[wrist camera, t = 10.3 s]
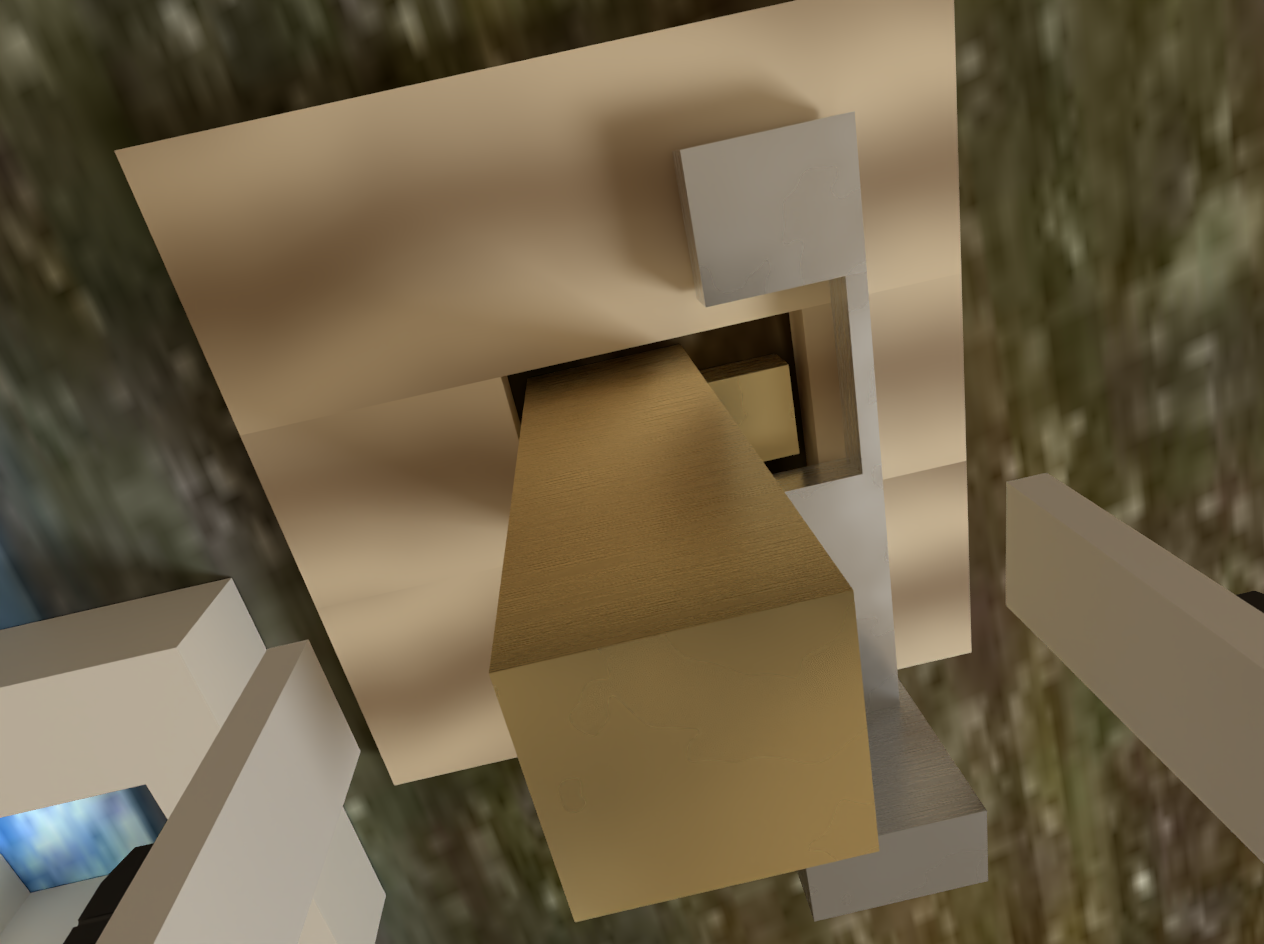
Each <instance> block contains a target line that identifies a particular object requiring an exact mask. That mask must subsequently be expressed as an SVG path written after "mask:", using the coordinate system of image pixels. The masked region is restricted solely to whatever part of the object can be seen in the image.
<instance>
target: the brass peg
mask: <svg viewBox="0 0 1264 944" xmlns="http://www.w3.org/2000/svg"><path fill="white" fill-rule="evenodd" d="M795 454H799V446H798V437H797V429H796V421H795V413H794V405H793V397H792V389H791V380H790V372H789V365H788V364H787V363H786V362H785V361H784V360H782V359H781V358H780V357H779V356H778V355H777V354H770V355H766V356H761V357H757V358H752V359H748V360H743V361H739V362H735V363H730V364H726V365H721V366H717V367H712V368H708V369H704V370H698V369H697V367H696V366H695V364H694V363H693V362H692V360H691V359H690V357H689V356H688V354H687V353H686V352H685V350H684V349H683V347H682V346H681V345H680V344H677V345H673V346H668V347H664V348H659V349H655V350H651V351H646V352H642V353H637V354H633V355H628V356H624V357H620V358H615V359H611V360H606V361H602V362H597V363H593V364H588V365H584V366H580V367H575V368H571V369H566V370H562V371H557V372H553V373H548V374H544V375H540V376H535V377H531V378H527V385H526V392H525V400H524V408H523V415H522V423H521V431H520V438H519V446H518V454H517V461H516V469H515V476H514V484H513V492H512V499H511V507H510V515H509V522H508V530H507V538H506V545H505V553H504V561H503V568H502V576H501V584H500V591H499V599H498V607H497V614H496V622H495V630H494V637H493V645H492V652H491V660H490V668H489V676H490V679H491V682H492V685H493V688H494V690H495V693H496V696H497V699H498V702H499V705H500V708H501V711H502V713H503V716H504V719H505V722H506V725H507V728H508V731H509V734H510V737H511V739H512V742H513V745H514V748H515V751H516V754H517V757H518V760H519V762H520V765H521V768H522V771H523V774H524V777H525V780H526V783H527V786H528V788H529V791H530V794H531V797H532V800H533V803H534V806H535V809H536V811H537V814H538V817H539V820H540V823H541V826H542V829H543V832H544V835H545V837H546V840H547V843H548V846H549V849H550V852H551V855H552V858H553V860H554V863H555V866H556V869H557V872H558V875H559V878H560V881H561V884H562V886H563V889H564V892H565V895H566V898H567V901H568V904H569V907H570V909H571V912H572V915H573V918H574V921H575V922H578V921H582V920H586V919H591V918H595V917H599V916H604V915H608V914H612V913H617V912H621V911H625V910H629V909H634V908H638V907H642V906H647V905H651V904H655V903H660V902H664V901H668V900H672V899H677V898H681V897H685V896H690V895H694V894H698V893H702V892H707V891H711V890H715V889H720V888H724V887H728V886H733V885H737V884H741V883H745V882H750V881H754V880H758V879H763V878H767V877H771V876H775V875H780V874H784V873H788V872H793V871H797V870H801V869H806V868H810V867H814V866H818V865H823V864H827V863H831V862H836V861H840V860H844V859H849V858H853V857H857V856H861V855H866V854H870V853H874V852H879V841H878V831H877V821H876V811H875V801H874V791H873V781H872V771H871V761H870V751H869V741H868V731H867V721H866V711H865V701H864V691H863V681H862V671H861V661H860V651H859V640H858V630H857V620H856V610H855V600H854V590H853V589H852V587H851V586H850V585H849V583H848V582H847V580H846V579H845V577H844V576H843V575H842V573H841V572H840V570H839V569H838V567H837V566H836V565H835V563H834V562H833V560H832V559H831V558H830V556H829V555H828V553H827V552H826V550H825V549H824V548H823V546H822V545H821V543H820V542H819V540H818V539H817V538H816V536H815V535H814V533H813V532H812V531H811V529H810V528H809V526H808V525H807V523H806V522H805V521H804V519H803V518H802V516H801V515H800V514H799V512H798V511H797V509H796V508H795V506H794V505H793V504H792V502H791V501H790V499H789V498H788V496H787V495H786V494H785V492H784V491H783V489H782V488H781V487H780V485H779V484H778V482H777V481H776V479H775V478H774V477H773V475H772V474H771V472H770V471H769V470H768V468H767V467H766V465H765V464H764V461H769V460H773V459H777V458H782V457H786V456H791V455H795Z"/></svg>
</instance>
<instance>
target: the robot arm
mask: <svg viewBox="0 0 1264 944" xmlns="http://www.w3.org/2000/svg"><path fill="white" fill-rule="evenodd" d="M1006 606H1007V607H1008V608H1009V609H1010V610H1011V611H1012V612H1013V613H1014V614H1015V615H1016V616H1017V617H1018V618H1019V619H1020V620H1021V621H1022V622H1023V623H1024V624H1025V625H1026V626H1027V627H1028V628H1029V629H1030V630H1031V631H1032V632H1033V633H1034V634H1035V635H1036V636H1037V637H1038V638H1039V639H1040V640H1041V641H1042V642H1043V643H1044V644H1045V645H1046V646H1047V647H1048V648H1049V649H1050V650H1051V651H1052V652H1053V653H1054V654H1055V655H1056V656H1057V657H1058V658H1059V659H1060V660H1061V661H1062V662H1063V663H1064V664H1065V665H1066V666H1067V667H1068V668H1069V669H1070V670H1071V671H1072V672H1073V673H1074V674H1075V675H1076V676H1077V677H1078V678H1079V679H1080V680H1081V681H1082V682H1083V683H1084V684H1085V685H1086V686H1087V687H1088V688H1089V689H1090V690H1091V691H1092V692H1093V693H1094V694H1095V695H1096V696H1097V697H1098V698H1099V699H1100V700H1101V701H1102V702H1103V703H1104V704H1105V705H1106V706H1107V707H1108V708H1109V709H1110V710H1111V711H1112V712H1113V713H1114V714H1115V715H1116V716H1117V717H1118V718H1119V719H1120V720H1121V721H1122V722H1123V723H1124V724H1125V725H1126V726H1127V727H1128V728H1129V729H1130V730H1131V731H1132V732H1133V733H1134V734H1135V735H1136V736H1137V737H1138V738H1139V739H1140V740H1141V741H1142V742H1143V743H1144V744H1145V745H1146V746H1147V747H1148V748H1149V749H1150V750H1151V751H1152V752H1153V753H1154V754H1155V755H1156V756H1157V757H1158V758H1159V759H1160V760H1161V761H1162V762H1163V763H1164V764H1165V765H1166V766H1167V767H1168V768H1169V769H1170V770H1171V771H1172V772H1173V773H1174V774H1175V775H1176V776H1177V777H1178V778H1179V779H1180V780H1181V781H1182V782H1183V783H1184V784H1185V785H1186V786H1187V787H1188V788H1189V789H1190V790H1191V791H1192V792H1193V793H1194V794H1195V795H1196V796H1197V797H1198V798H1199V799H1200V800H1201V801H1202V802H1203V803H1204V804H1205V805H1206V806H1207V807H1208V808H1209V809H1210V810H1211V811H1212V812H1213V813H1214V814H1215V815H1216V816H1217V817H1218V818H1219V819H1220V820H1221V821H1222V822H1223V823H1224V824H1225V825H1226V826H1227V827H1228V828H1229V829H1230V830H1231V831H1232V832H1233V833H1234V834H1235V835H1236V836H1237V837H1238V838H1239V839H1240V840H1241V841H1242V842H1243V843H1244V844H1245V845H1246V846H1247V847H1248V848H1249V849H1250V850H1251V851H1252V852H1253V853H1254V854H1255V855H1256V856H1257V857H1258V858H1259V859H1260V860H1261V861H1262V862H1263V863H1264V594H1262V593H1260V592H1257V591H1251V592H1247V593H1243V594H1238V595H1235V594H1233V593H1231V592H1230V591H1228V590H1227V589H1225V588H1224V587H1222V586H1221V585H1219V584H1218V583H1216V582H1214V581H1213V580H1211V579H1210V578H1208V577H1207V576H1205V575H1204V574H1202V573H1201V572H1199V571H1198V570H1196V569H1194V568H1193V567H1191V566H1190V565H1188V564H1187V563H1185V562H1184V561H1182V560H1181V559H1179V558H1177V557H1176V556H1174V555H1173V554H1171V553H1170V552H1168V551H1167V550H1165V549H1164V548H1162V547H1161V546H1159V545H1157V544H1156V543H1154V542H1153V541H1151V540H1150V539H1148V538H1147V537H1145V536H1144V535H1142V534H1141V533H1139V532H1137V531H1136V530H1134V529H1133V528H1131V527H1130V526H1128V525H1127V524H1125V523H1124V522H1122V521H1120V520H1119V519H1117V518H1116V517H1114V516H1113V515H1111V514H1110V513H1108V512H1107V511H1105V510H1104V509H1102V508H1100V507H1099V506H1097V505H1096V504H1094V503H1093V502H1091V501H1090V500H1088V499H1087V498H1085V497H1083V496H1082V495H1080V494H1079V493H1077V492H1076V491H1074V490H1073V489H1071V488H1070V487H1068V486H1067V485H1065V484H1063V483H1062V482H1060V481H1059V480H1057V479H1056V478H1054V477H1053V476H1051V475H1050V474H1048V473H1044V474H1039V475H1035V476H1030V477H1026V478H1021V479H1017V480H1013V481H1008V482H1006ZM359 755H360V749H359V747H358V745H357V743H356V741H355V738H354V736H353V734H352V732H351V730H350V728H349V726H348V723H347V721H346V719H345V717H344V715H343V713H342V711H341V708H340V706H339V704H338V702H337V700H336V698H335V696H334V693H333V691H332V689H331V687H330V685H329V683H328V681H327V678H326V676H325V674H324V672H323V670H322V668H321V665H320V663H319V661H318V659H317V657H316V655H315V653H314V650H313V648H312V646H311V644H310V642H309V640H304V641H300V642H295V643H291V644H286V645H282V646H277V647H273V648H269V649H267V650H266V652H265V654H264V655H263V657H262V659H261V661H260V662H259V664H258V666H257V668H256V669H255V671H254V673H253V674H252V676H251V678H250V680H249V681H248V683H247V685H246V686H245V688H244V690H243V692H242V693H241V695H240V697H239V698H238V700H237V702H236V704H235V705H234V707H233V709H232V710H231V712H230V714H229V716H228V717H227V719H226V721H225V722H224V724H223V726H222V728H221V729H220V731H219V733H218V734H217V736H216V738H215V740H214V741H213V743H212V745H211V746H210V748H209V750H208V752H207V753H206V755H205V757H204V759H203V760H202V762H201V764H200V765H199V767H198V769H197V771H196V772H195V774H194V776H193V777H192V779H191V781H190V783H189V784H188V786H187V788H186V789H185V791H184V793H183V795H182V796H181V798H180V800H179V801H178V803H177V805H176V807H175V808H174V810H173V812H172V813H171V815H170V817H169V819H168V820H167V822H166V824H165V825H164V827H163V829H162V831H161V832H160V834H159V836H158V837H157V839H156V841H155V843H153V844H148V845H144V846H139V847H135V848H134V849H133V850H132V851H131V852H130V853H129V854H128V855H127V856H126V857H125V858H124V859H123V860H122V861H121V862H120V863H119V864H118V866H117V867H116V868H115V869H114V870H113V871H112V872H111V873H110V874H109V875H108V876H107V877H106V878H105V879H104V880H103V881H102V882H101V883H100V885H99V887H98V888H97V890H96V891H95V893H94V895H93V896H92V898H91V900H90V901H89V903H88V904H87V906H86V908H85V909H84V911H83V912H82V914H81V916H80V917H79V919H78V926H76V927H73V928H72V930H71V932H70V933H69V935H68V936H67V938H66V940H65V941H64V943H63V944H298V941H299V938H300V935H301V932H302V929H303V926H304V923H305V920H306V917H307V914H308V911H309V908H310V905H311V902H312V898H313V895H314V892H315V889H316V886H317V883H318V880H319V877H320V874H321V871H322V868H323V865H324V862H325V859H326V856H327V853H328V849H329V846H330V843H331V840H332V837H333V834H334V831H335V828H336V825H337V822H338V819H339V816H340V813H341V810H342V807H343V804H344V800H345V797H346V794H347V791H348V788H349V785H350V782H351V779H352V776H353V773H354V770H355V767H356V764H357V761H358V758H359Z"/></svg>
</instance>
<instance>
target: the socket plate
mask: <svg viewBox="0 0 1264 944" xmlns="http://www.w3.org/2000/svg"><path fill="white" fill-rule="evenodd" d="M854 111H855V122H856V135H857V148H858V161H859V175H860V188H861V201H862V214H863V227H864V240H865V253H866V266H867V280H868V293H869V306H870V319H871V332H872V345H873V358H874V372H875V385H876V398H877V411H878V424H879V437H880V450H881V463H882V477H883V490H884V503H885V516H886V529H887V542H888V555H889V569H890V582H891V595H892V608H893V621H894V634H895V647H896V660H897V669H901V668H906V667H910V666H914V665H919V664H923V663H927V662H932V661H936V660H940V659H945V658H949V657H953V656H958V655H962V654H966V653H971V618H970V581H969V543H968V506H967V469H966V432H965V394H964V357H963V320H962V283H961V246H960V208H959V171H958V134H957V97H956V59H955V22H954V0H795V1H790V2H786V3H781V4H777V5H772V6H768V7H763V8H759V9H754V10H750V11H745V12H741V13H736V14H732V15H727V16H722V17H718V18H713V19H709V20H704V21H700V22H695V23H691V24H686V25H682V26H677V27H673V28H668V29H664V30H659V31H654V32H650V33H645V34H641V35H636V36H632V37H627V38H623V39H618V40H614V41H609V42H605V43H600V44H596V45H591V46H586V47H582V48H577V49H573V50H568V51H564V52H559V53H555V54H550V55H546V56H541V57H537V58H532V59H528V60H523V61H518V62H514V63H509V64H505V65H500V66H496V67H491V68H487V69H482V70H478V71H473V72H469V73H464V74H460V75H455V76H450V77H446V78H441V79H437V80H432V81H428V82H423V83H419V84H414V85H410V86H405V87H401V88H396V89H391V90H387V91H382V92H378V93H373V94H369V95H364V96H360V97H355V98H351V99H346V100H342V101H337V102H333V103H328V104H323V105H319V106H314V107H310V108H305V109H301V110H296V111H292V112H287V113H283V114H278V115H274V116H269V117H265V118H260V119H255V120H251V121H246V122H242V123H237V124H233V125H228V126H224V127H219V128H215V129H210V130H206V131H201V132H197V133H192V134H187V135H183V136H178V137H174V138H169V139H165V140H160V141H156V142H151V143H147V144H142V145H138V146H133V147H129V148H124V149H119V150H115V154H116V156H117V158H118V160H119V163H120V165H121V167H122V169H123V172H124V174H125V176H126V178H127V181H128V183H129V185H130V188H131V190H132V192H133V194H134V197H135V199H136V201H137V203H138V206H139V208H140V210H141V212H142V215H143V217H144V219H145V221H146V224H147V226H148V228H149V231H150V233H151V235H152V237H153V240H154V242H155V244H156V246H157V249H158V251H159V253H160V255H161V258H162V260H163V262H164V265H165V267H166V269H167V271H168V274H169V276H170V278H171V280H172V283H173V285H174V287H175V289H176V292H177V294H178V296H179V298H180V301H181V303H182V305H183V308H184V310H185V312H186V314H187V317H188V319H189V321H190V323H191V326H192V328H193V330H194V332H195V335H196V337H197V339H198V341H199V344H200V346H201V348H202V351H203V353H204V355H205V357H206V360H207V362H208V364H209V366H210V369H211V371H212V373H213V375H214V378H215V380H216V382H217V385H218V387H219V389H220V391H221V394H222V396H223V398H224V400H225V403H226V405H227V407H228V409H229V412H230V414H231V416H232V418H233V421H234V423H235V425H236V428H237V430H238V432H239V434H240V437H241V439H242V441H243V443H244V446H245V448H246V450H247V452H248V455H249V457H250V459H251V461H252V464H253V466H254V468H255V471H256V473H257V475H258V477H259V480H260V482H261V484H262V486H263V489H264V491H265V493H266V495H267V498H268V500H269V502H270V505H271V507H272V509H273V511H274V514H275V516H276V518H277V520H278V523H279V525H280V527H281V529H282V532H283V534H284V536H285V538H286V541H287V543H288V545H289V548H290V550H291V552H292V554H293V557H294V559H295V561H296V563H297V566H298V568H299V570H300V572H301V575H302V577H303V579H304V582H305V584H306V586H307V588H308V591H309V593H310V595H311V597H312V600H313V602H314V604H315V606H316V609H317V611H318V613H319V615H320V618H321V620H322V622H323V625H324V627H325V629H326V631H327V634H328V636H329V638H330V640H331V643H332V645H333V647H334V649H335V652H336V654H337V656H338V658H339V661H340V663H341V665H342V668H343V670H344V672H345V674H346V677H347V679H348V681H349V683H350V686H351V688H352V690H353V692H354V695H355V697H356V699H357V702H358V704H359V706H360V708H361V711H362V713H363V715H364V717H365V720H366V722H367V724H368V726H369V729H370V731H371V733H372V735H373V738H374V740H375V742H376V745H377V747H378V749H379V751H380V754H381V756H382V758H383V760H384V763H385V765H386V767H387V769H388V772H389V774H390V776H391V778H392V781H393V783H394V785H398V784H402V783H407V782H411V781H415V780H420V779H424V778H428V777H433V776H437V775H441V774H446V773H450V772H455V771H459V770H463V769H468V768H472V767H476V766H481V765H485V764H489V763H494V762H498V761H502V760H507V759H511V758H515V757H517V754H516V751H515V748H514V745H513V742H512V739H511V737H510V734H509V731H508V728H507V725H506V722H505V719H504V716H503V713H502V711H501V708H500V705H499V702H498V699H497V696H496V693H495V690H494V688H493V685H492V682H491V679H490V676H489V668H490V660H491V652H492V645H493V637H494V630H495V622H496V614H497V607H498V599H499V591H500V584H501V576H502V568H503V561H504V553H505V545H506V538H507V530H508V522H509V515H510V507H511V499H512V492H513V484H514V476H515V469H516V461H517V454H518V446H519V438H520V431H521V424H520V420H519V417H518V413H517V409H516V406H515V402H514V399H513V395H512V392H511V388H510V384H509V381H508V377H507V375H511V374H516V373H520V372H525V371H529V370H533V369H538V368H542V367H547V366H551V365H556V364H560V363H565V362H569V361H573V360H578V359H582V358H587V357H591V356H596V355H600V354H605V353H609V352H613V351H618V350H622V349H627V348H631V347H636V346H640V345H645V344H649V343H653V342H658V341H662V340H667V339H671V338H676V337H680V336H685V335H689V334H693V333H698V332H702V331H707V330H711V329H716V328H720V327H725V326H729V325H733V324H738V323H742V322H747V321H751V320H756V319H760V318H764V317H769V316H773V315H778V314H782V313H787V312H789V318H790V327H791V335H792V343H793V352H794V360H795V368H796V377H797V385H798V393H799V402H800V410H801V419H802V427H803V435H804V444H805V452H806V460H807V466H811V465H815V464H820V463H824V462H828V461H833V460H837V459H842V458H846V451H845V441H844V430H843V420H842V410H841V399H840V389H839V378H838V368H837V358H836V347H835V337H834V327H833V316H832V306H831V295H830V285H829V280H826V281H821V282H817V283H812V284H808V285H803V286H799V287H795V288H790V289H786V290H781V291H777V292H772V293H768V294H763V295H759V296H754V297H750V298H746V299H741V300H737V301H732V302H728V303H723V304H719V305H714V306H710V307H705V306H704V305H703V304H702V303H700V302H699V301H698V300H697V298H696V292H695V286H694V280H693V274H692V268H691V262H690V256H689V250H688V244H687V238H686V232H685V226H684V220H683V214H682V208H681V202H680V196H679V190H678V184H677V178H676V172H675V166H674V160H673V154H672V151H675V150H680V149H684V148H689V147H693V146H698V145H702V144H707V143H711V142H716V141H720V140H725V139H729V138H734V137H738V136H743V135H747V134H752V133H756V132H761V131H765V130H770V129H774V128H779V127H783V126H788V125H792V124H797V123H801V122H806V121H810V120H815V119H819V118H824V117H828V116H833V115H837V114H843V113H848V112H854Z"/></svg>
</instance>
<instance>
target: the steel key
mask: <svg viewBox="0 0 1264 944" xmlns="http://www.w3.org/2000/svg"><path fill="white" fill-rule="evenodd" d="M672 154H673V160H674V166H675V172H676V178H677V184H678V190H679V196H680V202H681V208H682V214H683V220H684V226H685V232H686V238H687V244H688V250H689V256H690V262H691V268H692V274H693V280H694V286H695V292H696V298H697V300H698V301H699V302H700V303H702V304H703V305H704V306H705V307H710V306H714V305H719V304H723V303H728V302H732V301H737V300H741V299H746V298H750V297H754V296H759V295H763V294H768V293H772V292H777V291H781V290H786V289H790V288H795V287H799V286H803V285H808V284H812V283H817V282H821V281H826V280H829V285H830V295H831V306H832V316H833V327H834V337H835V347H836V358H837V368H838V378H839V389H840V399H841V410H842V420H843V430H844V441H845V451H846V458H842V459H837V460H833V461H828V462H824V463H820V464H815V465H811V466H806V467H802V468H798V469H793V470H789V471H784V472H780V473H776V474H772V475H773V477H774V478H775V479H776V481H777V482H778V484H779V485H780V487H781V488H782V489H783V491H784V492H785V494H786V495H787V496H788V498H789V499H790V501H791V502H792V504H793V505H794V506H795V508H796V509H797V511H798V512H799V514H800V515H801V516H802V518H803V519H804V521H805V522H806V523H807V525H808V526H809V528H810V529H811V531H812V532H813V533H814V535H815V536H816V538H817V539H818V540H819V542H820V543H821V545H822V546H823V548H824V549H825V550H826V552H827V553H828V555H829V556H830V558H831V559H832V560H833V562H834V563H835V565H836V566H837V567H838V569H839V570H840V572H841V573H842V575H843V576H844V577H845V579H846V580H847V582H848V583H849V585H850V586H851V587H852V589H853V590H854V600H855V610H856V620H857V630H858V640H859V651H860V661H861V671H862V681H863V691H864V701H865V711H866V721H867V731H868V741H869V751H870V761H871V771H872V781H873V791H874V801H875V811H876V821H877V831H878V841H879V852H874V853H870V854H866V855H861V856H857V857H853V858H849V859H844V860H840V861H836V862H831V863H827V864H823V865H818V866H814V867H810V868H806V869H801V870H797V872H798V875H799V878H800V881H801V884H802V887H803V890H804V892H805V895H806V898H807V901H808V904H809V907H810V910H811V913H812V916H813V919H814V921H818V920H823V919H827V918H831V917H835V916H840V915H844V914H848V913H853V912H857V911H861V910H865V909H870V908H874V907H878V906H882V905H887V904H891V903H895V902H900V901H904V900H908V899H912V898H917V897H921V896H925V895H930V894H934V893H938V892H942V891H947V890H951V889H955V888H959V887H964V886H968V885H972V884H977V883H981V882H985V881H988V854H987V810H986V809H985V807H984V806H983V804H982V803H981V801H980V800H979V798H978V797H977V795H976V794H975V792H974V791H973V789H972V788H971V787H970V785H969V784H968V782H967V781H966V779H965V778H964V776H963V775H962V773H961V772H960V770H959V769H958V767H957V766H956V764H955V763H954V761H953V760H952V758H951V757H950V755H949V754H948V752H947V751H946V749H945V748H944V746H943V745H942V743H941V742H940V740H939V739H938V737H937V736H936V734H935V733H934V731H933V730H932V728H931V727H930V725H929V724H928V722H927V721H926V719H925V718H924V716H923V715H922V713H921V712H920V710H919V709H918V708H917V706H916V705H915V703H914V702H913V700H912V699H911V697H910V696H909V694H908V693H907V691H906V690H905V688H904V687H903V685H902V684H901V682H900V681H899V679H898V674H897V660H896V647H895V634H894V621H893V608H892V595H891V582H890V569H889V555H888V542H887V529H886V516H885V503H884V490H883V477H882V463H881V450H880V437H879V424H878V411H877V398H876V385H875V372H874V358H873V345H872V332H871V319H870V306H869V293H868V280H867V266H866V253H865V240H864V227H863V214H862V201H861V188H860V175H859V161H858V148H857V135H856V122H855V111H854V112H848V113H843V114H837V115H833V116H828V117H824V118H819V119H815V120H810V121H806V122H801V123H797V124H792V125H788V126H783V127H779V128H774V129H770V130H765V131H761V132H756V133H752V134H747V135H743V136H738V137H734V138H729V139H725V140H720V141H716V142H711V143H707V144H702V145H698V146H693V147H689V148H684V149H680V150H675V151H672Z"/></svg>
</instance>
